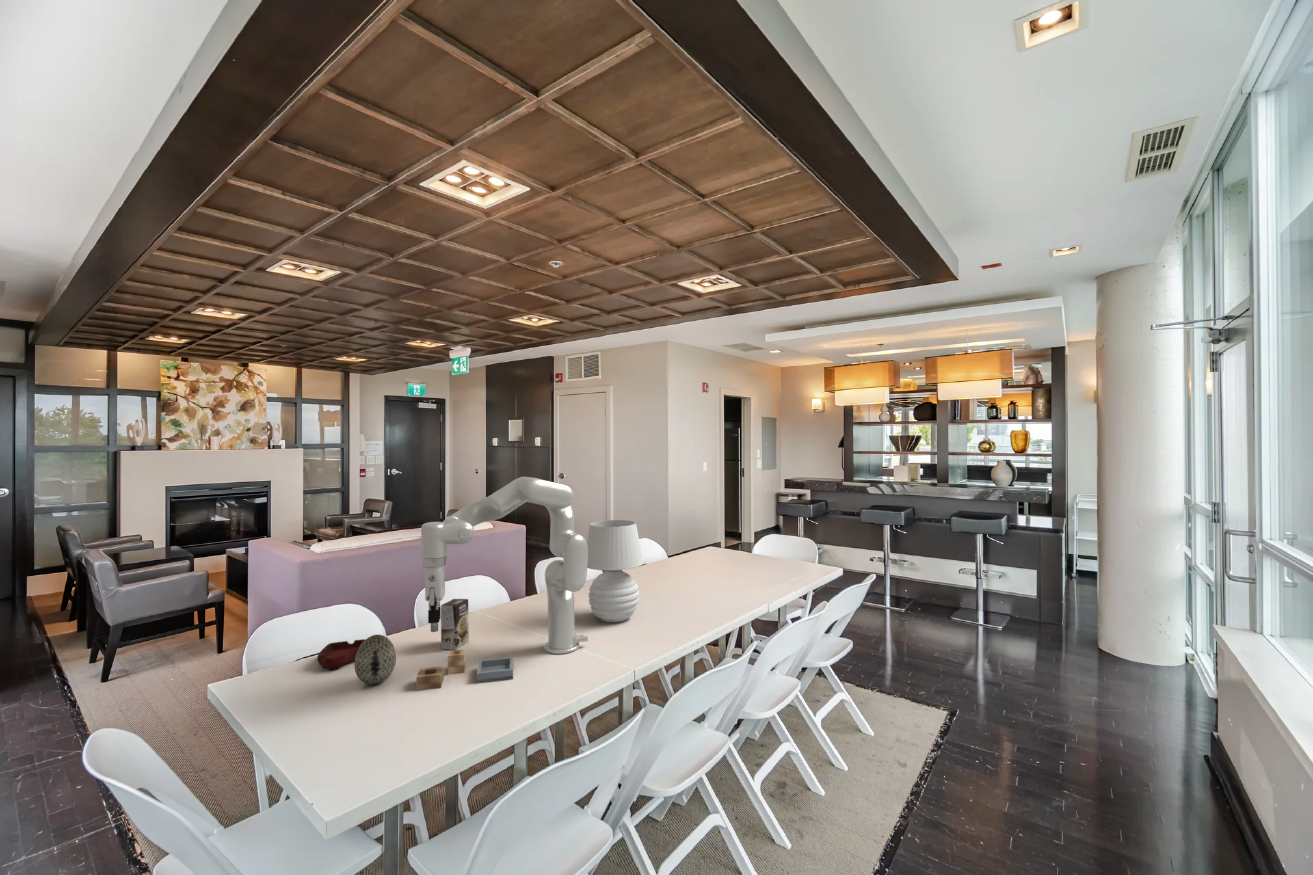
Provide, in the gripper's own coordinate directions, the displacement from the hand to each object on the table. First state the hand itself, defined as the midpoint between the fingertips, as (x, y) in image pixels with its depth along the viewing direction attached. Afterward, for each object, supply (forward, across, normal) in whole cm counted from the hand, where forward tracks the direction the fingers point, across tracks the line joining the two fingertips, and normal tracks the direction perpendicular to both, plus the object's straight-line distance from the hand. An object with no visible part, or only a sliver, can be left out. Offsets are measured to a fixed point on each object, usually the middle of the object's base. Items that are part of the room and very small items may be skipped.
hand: (434, 620), depth 179 cm
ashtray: (+21, +31, +34) cm, 50 cm away
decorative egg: (+20, +7, +18) cm, 28 cm away
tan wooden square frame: (+20, 0, +1) cm, 20 cm away
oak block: (+20, +9, -6) cm, 23 cm away
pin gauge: (+3, 0, 0) cm, 3 cm away
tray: (+20, +3, -18) cm, 27 cm away
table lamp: (+19, +48, -65) cm, 83 cm away
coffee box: (+20, +34, -3) cm, 40 cm away
